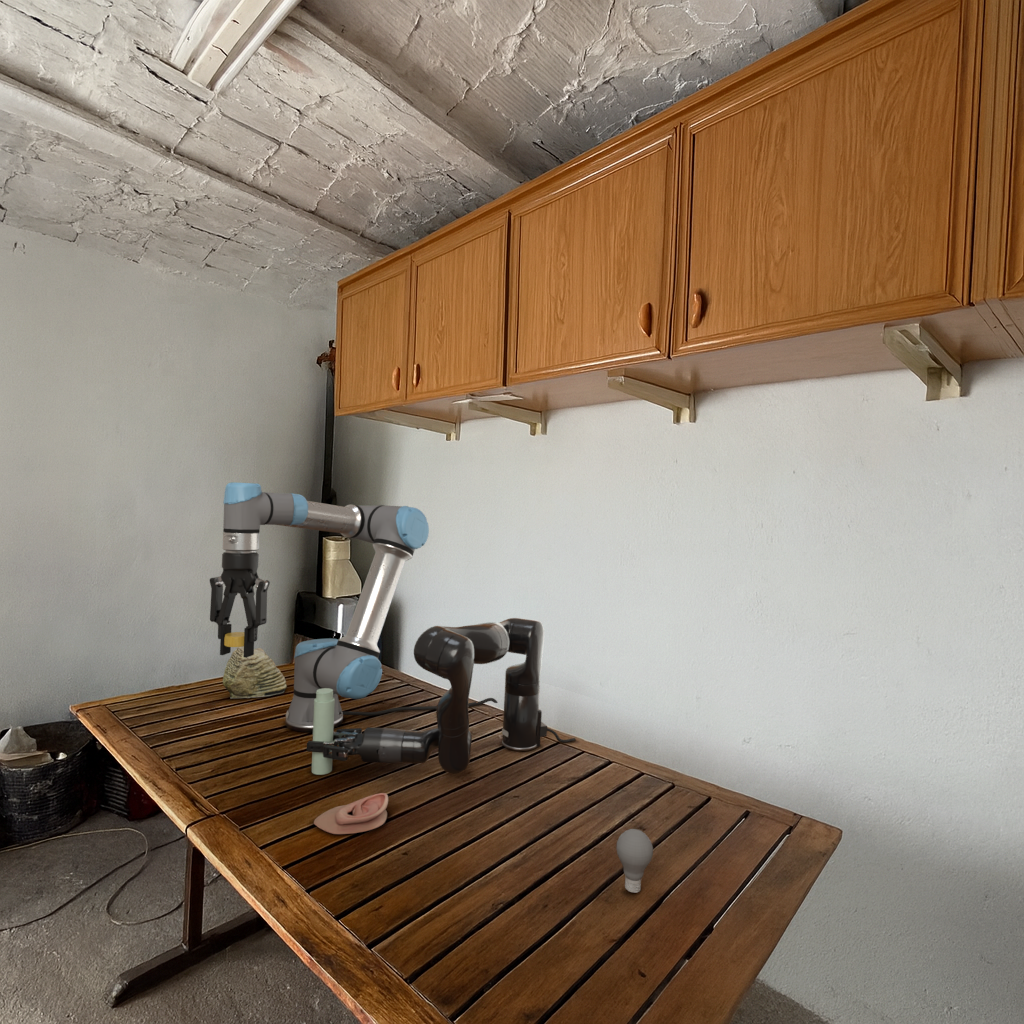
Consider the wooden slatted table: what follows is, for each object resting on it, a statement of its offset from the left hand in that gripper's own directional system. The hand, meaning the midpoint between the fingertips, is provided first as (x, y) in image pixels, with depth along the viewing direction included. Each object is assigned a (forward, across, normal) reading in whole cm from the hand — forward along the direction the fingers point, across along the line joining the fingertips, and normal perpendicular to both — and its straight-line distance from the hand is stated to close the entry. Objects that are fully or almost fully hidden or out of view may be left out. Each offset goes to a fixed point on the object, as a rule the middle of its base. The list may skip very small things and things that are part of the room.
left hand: (236, 654), depth 142 cm
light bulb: (+27, +89, -20) cm, 95 cm away
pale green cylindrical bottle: (+27, +18, +7) cm, 33 cm away
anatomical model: (+27, +34, -12) cm, 45 cm away
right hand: (+20, +15, +7) cm, 26 cm away
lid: (-4, 0, 0) cm, 4 cm away
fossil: (+27, -28, +51) cm, 64 cm away
